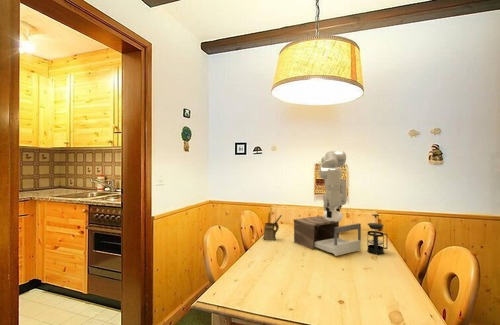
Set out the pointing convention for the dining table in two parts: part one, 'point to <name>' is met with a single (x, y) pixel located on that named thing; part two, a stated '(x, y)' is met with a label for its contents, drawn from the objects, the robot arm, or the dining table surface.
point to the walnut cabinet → (313, 230)
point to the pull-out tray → (341, 241)
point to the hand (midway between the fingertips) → (333, 216)
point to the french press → (376, 238)
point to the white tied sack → (334, 215)
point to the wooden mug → (270, 230)
